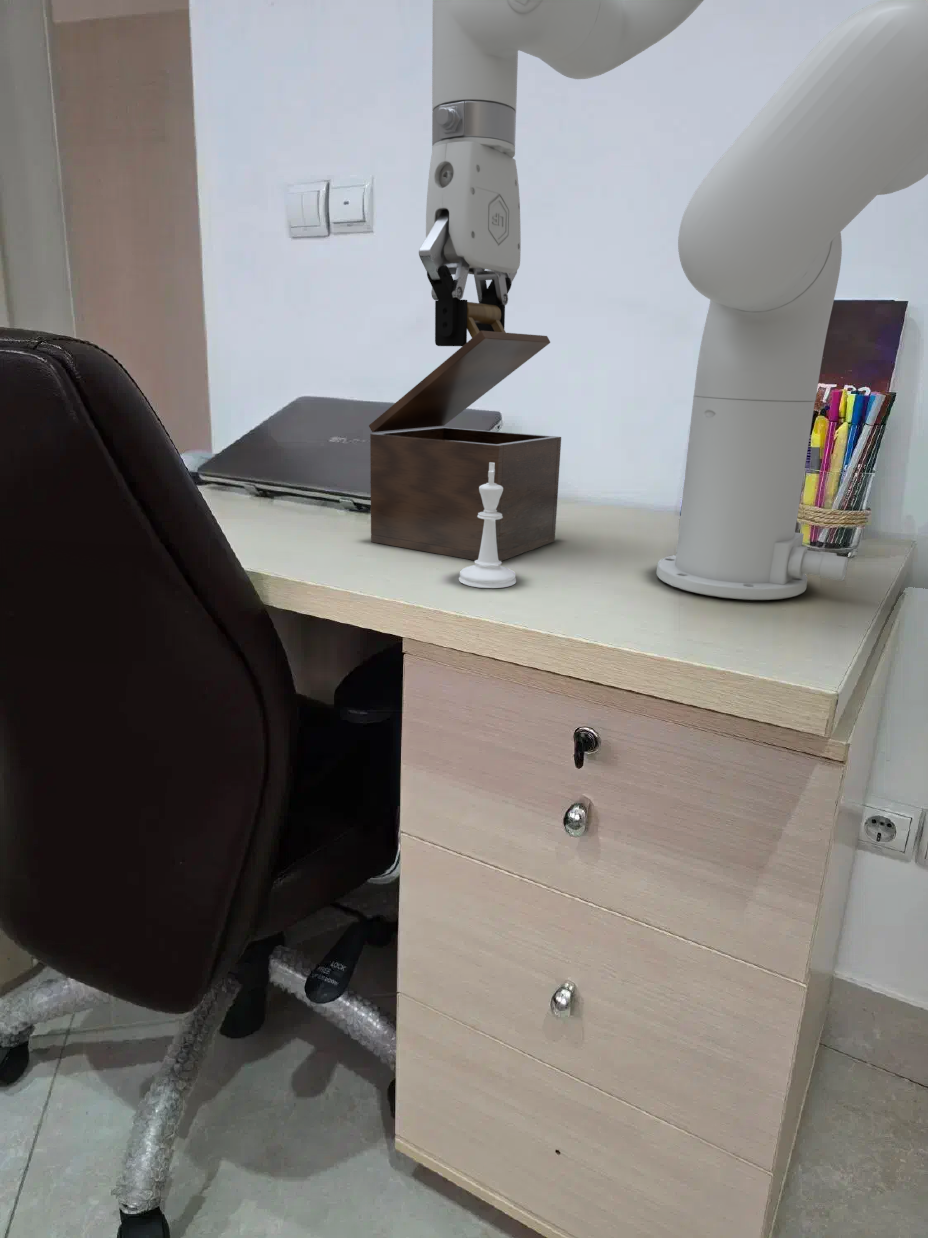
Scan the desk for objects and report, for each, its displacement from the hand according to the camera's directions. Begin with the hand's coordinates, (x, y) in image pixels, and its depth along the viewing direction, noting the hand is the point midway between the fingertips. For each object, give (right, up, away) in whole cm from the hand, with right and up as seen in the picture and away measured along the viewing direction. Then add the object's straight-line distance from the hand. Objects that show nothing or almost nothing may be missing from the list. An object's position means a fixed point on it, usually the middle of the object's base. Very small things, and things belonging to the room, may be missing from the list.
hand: (470, 344), depth 80 cm
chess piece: (+1, -23, -9) cm, 25 cm away
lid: (-1, -4, +2) cm, 4 cm away
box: (-1, -18, +6) cm, 19 cm away
